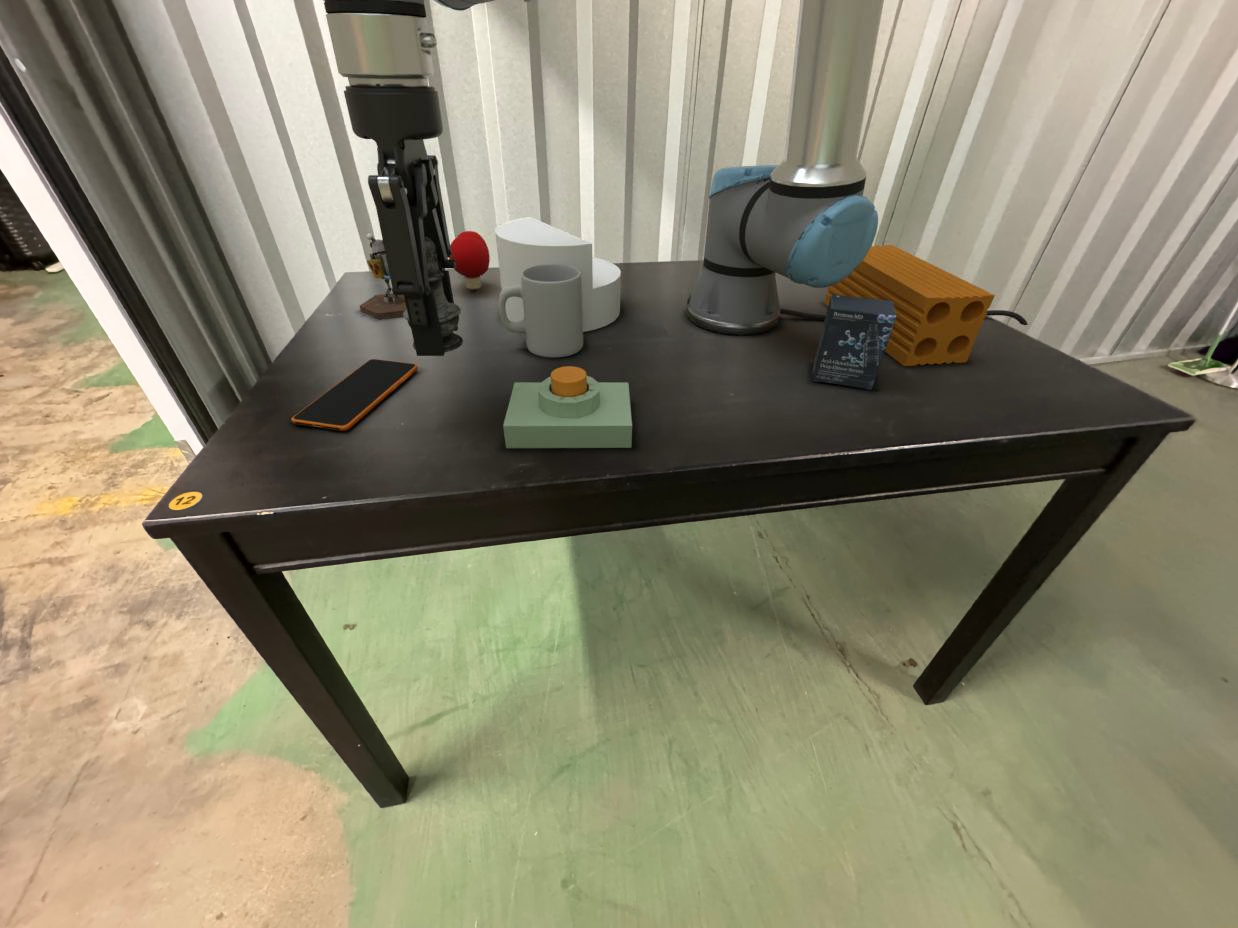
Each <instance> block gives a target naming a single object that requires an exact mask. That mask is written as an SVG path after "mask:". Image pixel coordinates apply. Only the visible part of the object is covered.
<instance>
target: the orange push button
mask: <svg viewBox="0 0 1238 928" xmlns="http://www.w3.org/2000/svg"><path fill="white" fill-rule="evenodd" d="M587 376H588V374H587V372H586V370H584V369H583V368H582V367H578V366H571V365H569V366H568V365H567V366H566V365H565V366H561V367H557V368H554V369H553V370H552V371H551V373H550V377H551V387H552V393H553V394H554V395H557V396H561V397H576V396H580V395H583V394H585V393H586V391H587Z"/></svg>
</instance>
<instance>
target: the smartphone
mask: <svg viewBox="0 0 1238 928" xmlns="http://www.w3.org/2000/svg"><path fill="white" fill-rule="evenodd" d="M418 369H419V366H418V364H416V363H411V362H403V361H395V360H385V359H379V358H372V359H368V360H367V361H366V362H364V363H363V364H362V365H360V366H359V367H358V368H356V369H355V370H353V371H352V372H351V373H350V374H348V375H347V376H346V377H344V378H342V379H341V380H340V381H339V382H338V383H336V384H335V385H333V386H332V387H331V388H330V389H328V390H327V391H325V392H324V393H323V394H322V395H320V396H319V397H318V398H316V399H315V400H313V401H312V402H311V403H309V404H308V405H307V406H305V407H304V408H303V409H302V410H300V411H299V412H298V413H296V414H294V416H292V417H291V419H290V420H291V422H292V424H295V425H298V426H299V425H301V426H307V427H315V428H321V429H328V430H335V431H348V430H350V429H351V428H352V427H353V426H355V425H356V424H357V423H358V422H359V421H360V420H361V419H363V418H364V417H365V416H366V415H367V414H369V412H370V411H372V410H373V409H374V408H375V407H376V406H378V405H379V404H380V403H381V402H382V401H383V400H384V399H386V397H388V396H389V395H390V394H391V393H392V392H394V391H395V390H396V389H397V388H398V387H399V386H400V385H402V384H403V383H404V382H406V380H407V379H409V377H411V376H412V375H413V374H414V373H415V372H416V371H417V370H418Z"/></svg>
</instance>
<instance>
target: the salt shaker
mask: <svg viewBox="0 0 1238 928" xmlns="http://www.w3.org/2000/svg"><path fill="white" fill-rule="evenodd" d="M424 239H425V250H426V260H427V270H428V280H429V287H430V291H434V296H435V301H436V307H437V312H438V317H439V323H440V328H441V334H442V339H443V345H444V350H445V353H448V352H452V351H455V350H457V349H459V348H460V347H461V346H462V345H463V343H464V339H463V337H462V336H461V335H459V334H457V333H455V331H454V330H455V329H456V328H457V326H458V327H459V322H460V314H461V313H462V309H461V307H460V306H459V305H458V304H456V303H454V304H453V303H449V302H448V301H447V299H446V297H445V294H444V290H443V284H442V279H441V278H442V277H443V276H444V273H443V272H442V271H440V270H439V266H438V260H437V254H436V249H435V245H434V242H433V241H432V240H431V239H429V238H427V237H424ZM402 317H403V318H404V319H405V320H406V321H407V324H408V326H409V327H410V328H411V326H410V321H409V317H408V312H407V309H406V310H405V311H404V313H403V316H402ZM412 348H413V349H414V350H415V351H416V349H415V345H414V341H413V342H412Z"/></svg>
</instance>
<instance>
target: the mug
mask: <svg viewBox="0 0 1238 928" xmlns="http://www.w3.org/2000/svg"><path fill="white" fill-rule="evenodd" d="M510 297H520V298H522V299H523V306H524V319H523V320H522V321H519V322H512V321H510V320H509V319H508V317H507V315H506V310H505V304H506V301H507V299H508V298H510ZM498 313H499V318H500V321H501V324H502V326H503V328H504V329H505V330H506V331H508V332H511V333H514V334H515V333H516V334H517V333H518V334H525V342H526V343H525V344H526V347H527V350H528V351H529V352H530V353H531V354H533V355H535V356H538V357H541V358H549V359H551V358H552V359H555V358H556V359H557V358H565V357H566V358H567V357H570V356H573V355H575V354H577V353H579V352H580V351H581V350H582V349H583V347H584V332H583V323H582V286H581V273H580V271H579V270H578V269H577V268H574V267H571V266H567V265H560V264H545V265H537V266H533V267H529V268H527V269H525V270H524V271H523V272H522V273H521V284H517V285H512V286H508V287H506V288H504V289H503V290H502V289H501V291H500V293H499V296H498Z"/></svg>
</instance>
